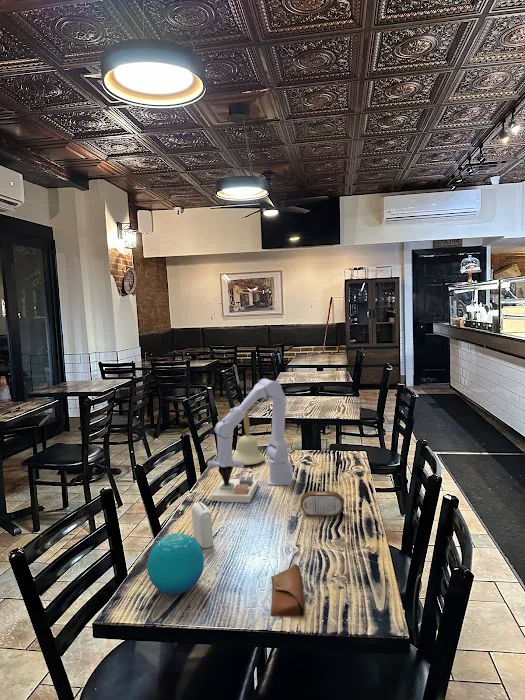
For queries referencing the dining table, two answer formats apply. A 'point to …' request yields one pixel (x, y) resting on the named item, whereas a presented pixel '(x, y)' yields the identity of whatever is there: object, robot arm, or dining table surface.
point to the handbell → (248, 447)
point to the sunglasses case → (287, 593)
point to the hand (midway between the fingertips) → (226, 484)
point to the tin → (321, 503)
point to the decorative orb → (175, 563)
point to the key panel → (230, 495)
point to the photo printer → (202, 525)
